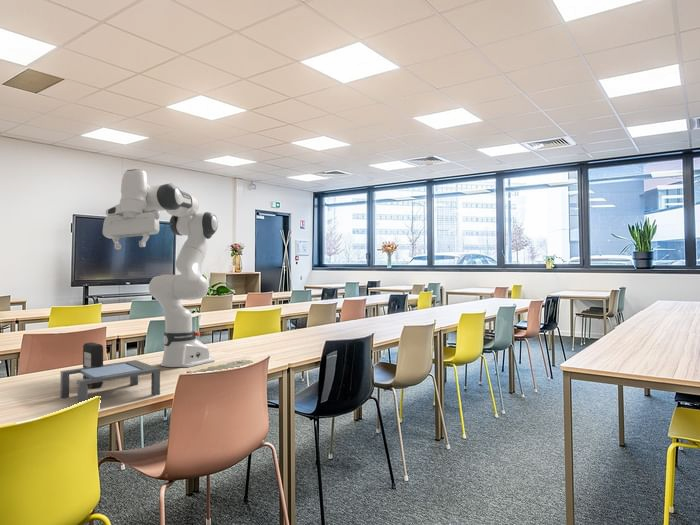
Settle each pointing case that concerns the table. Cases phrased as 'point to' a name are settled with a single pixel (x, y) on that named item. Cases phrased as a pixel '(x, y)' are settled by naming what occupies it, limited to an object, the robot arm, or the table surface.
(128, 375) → the stand
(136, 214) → the robot arm
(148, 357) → the table surface
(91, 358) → the card reader
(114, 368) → the trapdoor
